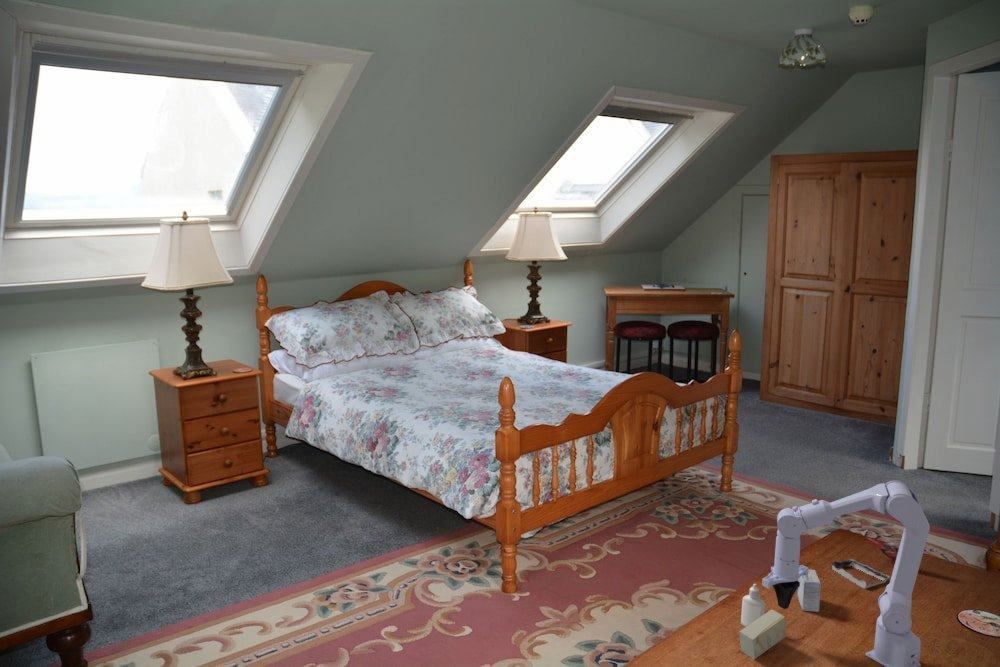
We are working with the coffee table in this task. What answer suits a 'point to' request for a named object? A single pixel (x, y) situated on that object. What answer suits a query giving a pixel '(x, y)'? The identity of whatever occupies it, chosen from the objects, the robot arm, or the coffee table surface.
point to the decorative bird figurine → (888, 549)
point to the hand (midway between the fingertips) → (783, 606)
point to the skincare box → (762, 634)
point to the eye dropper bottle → (752, 607)
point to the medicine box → (809, 591)
